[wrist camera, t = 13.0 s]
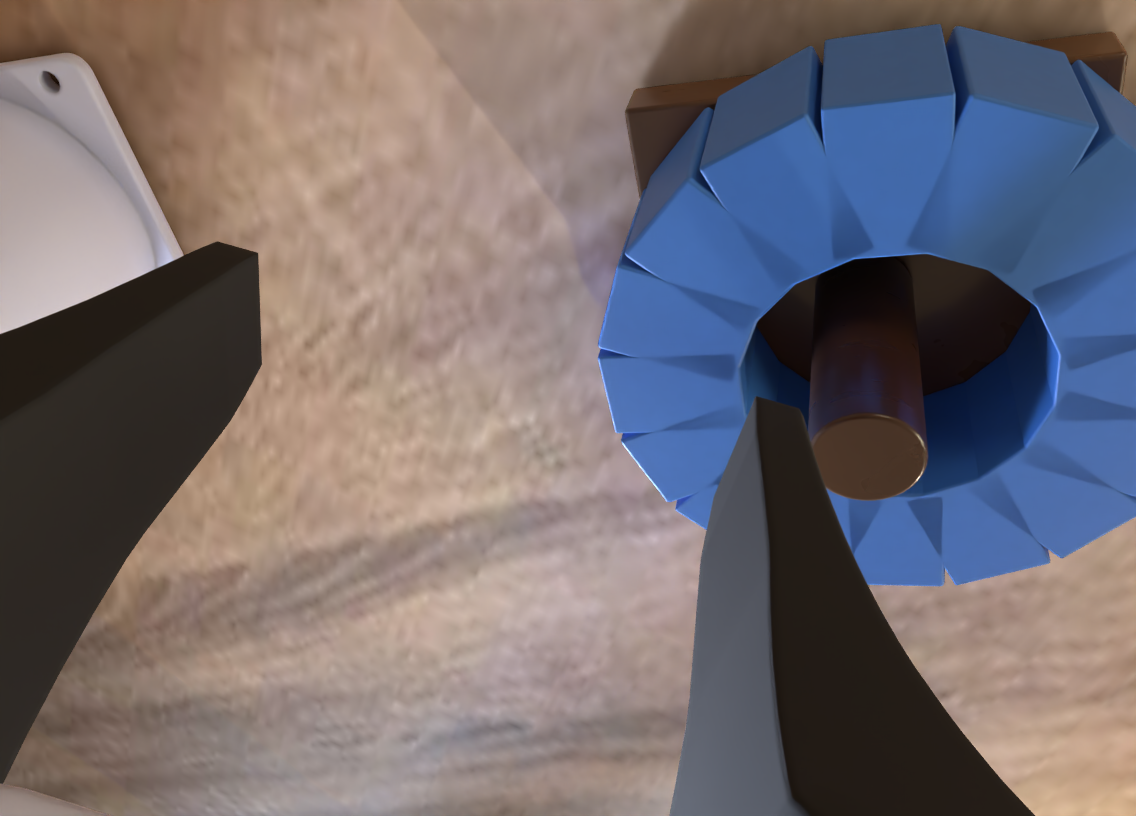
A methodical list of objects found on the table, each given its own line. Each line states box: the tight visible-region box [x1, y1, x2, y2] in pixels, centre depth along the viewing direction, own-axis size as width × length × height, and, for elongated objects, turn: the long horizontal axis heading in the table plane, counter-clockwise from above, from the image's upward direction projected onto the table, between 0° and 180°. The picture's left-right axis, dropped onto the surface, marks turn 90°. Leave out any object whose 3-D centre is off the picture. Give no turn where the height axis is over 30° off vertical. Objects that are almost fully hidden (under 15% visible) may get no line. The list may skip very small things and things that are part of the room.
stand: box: [625, 32, 1128, 501], centre depth 19 cm, size 9×9×7 cm
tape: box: [598, 24, 1136, 586], centre depth 20 cm, size 11×11×3 cm
